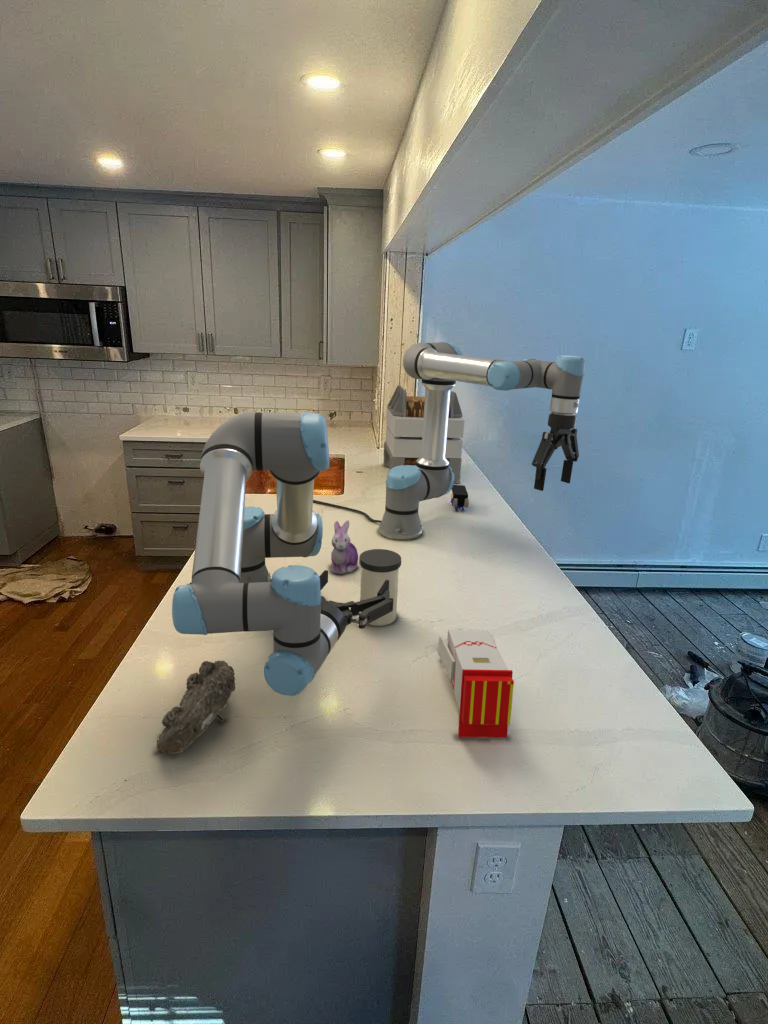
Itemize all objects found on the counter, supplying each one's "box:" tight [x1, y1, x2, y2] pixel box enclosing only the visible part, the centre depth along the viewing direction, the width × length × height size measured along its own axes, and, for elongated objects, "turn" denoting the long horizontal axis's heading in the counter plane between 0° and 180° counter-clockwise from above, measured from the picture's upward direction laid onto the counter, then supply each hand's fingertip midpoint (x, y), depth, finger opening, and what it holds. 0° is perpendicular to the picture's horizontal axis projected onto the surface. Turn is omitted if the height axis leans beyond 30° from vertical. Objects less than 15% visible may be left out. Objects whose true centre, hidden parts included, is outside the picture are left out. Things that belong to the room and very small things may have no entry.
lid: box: [358, 548, 402, 573], centre depth 141 cm, size 10×10×2 cm
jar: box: [359, 566, 400, 627], centre depth 143 cm, size 9×9×16 cm
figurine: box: [330, 519, 359, 575], centre depth 169 cm, size 9×10×15 cm
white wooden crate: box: [383, 384, 465, 484], centre depth 268 cm, size 34×33×41 cm
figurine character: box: [449, 484, 470, 512], centre depth 229 cm, size 7×8×15 cm
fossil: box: [156, 660, 236, 755], centre depth 106 cm, size 22×10×15 cm
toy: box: [437, 628, 515, 738], centre depth 117 cm, size 12×13×30 cm
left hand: (356, 580), depth 121 cm, fingers open, 13 cm apart
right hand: (552, 485), depth 166 cm, fingers open, 13 cm apart
